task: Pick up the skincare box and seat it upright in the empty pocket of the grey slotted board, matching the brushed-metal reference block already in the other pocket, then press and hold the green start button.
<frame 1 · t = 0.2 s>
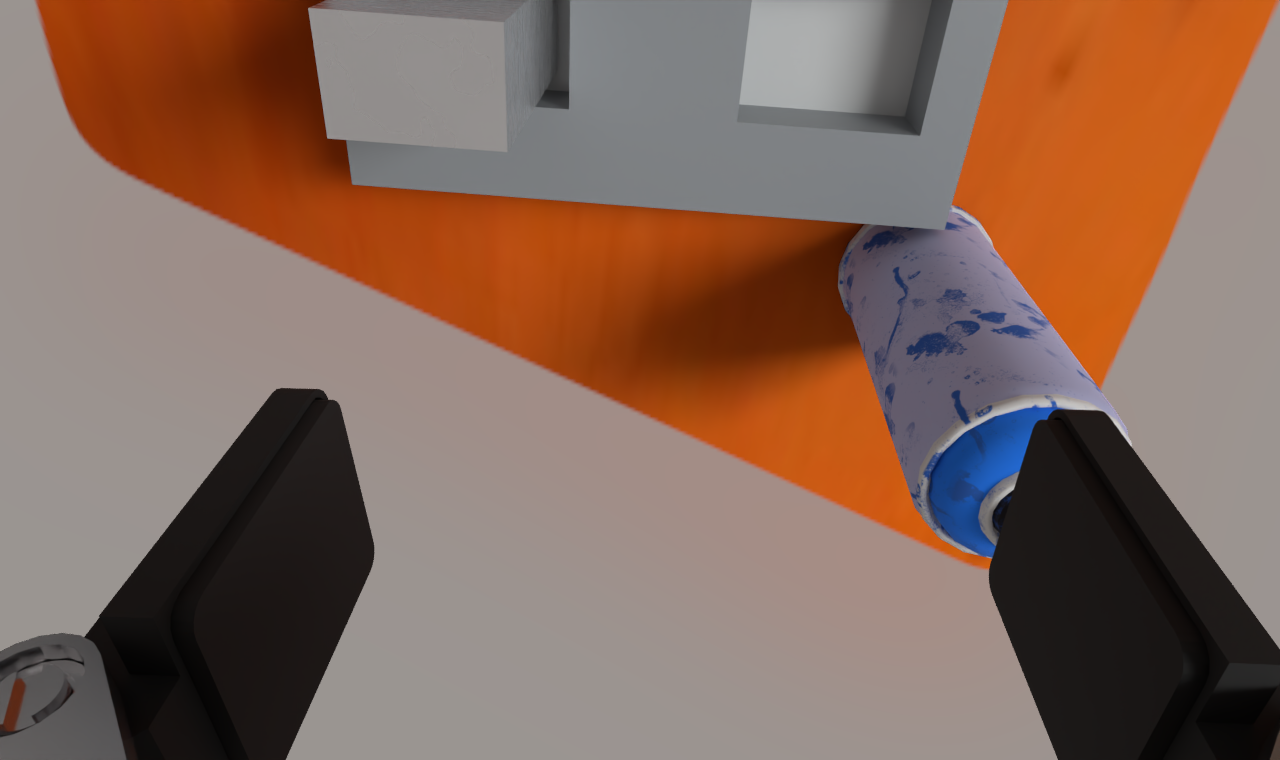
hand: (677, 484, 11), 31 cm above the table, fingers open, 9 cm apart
aerosol can: (913, 271, 43), on the table
grey slotted board: (660, 26, 37), on the table
reference block: (490, 17, 36), point 1 cm above the table, touching grey slotted board
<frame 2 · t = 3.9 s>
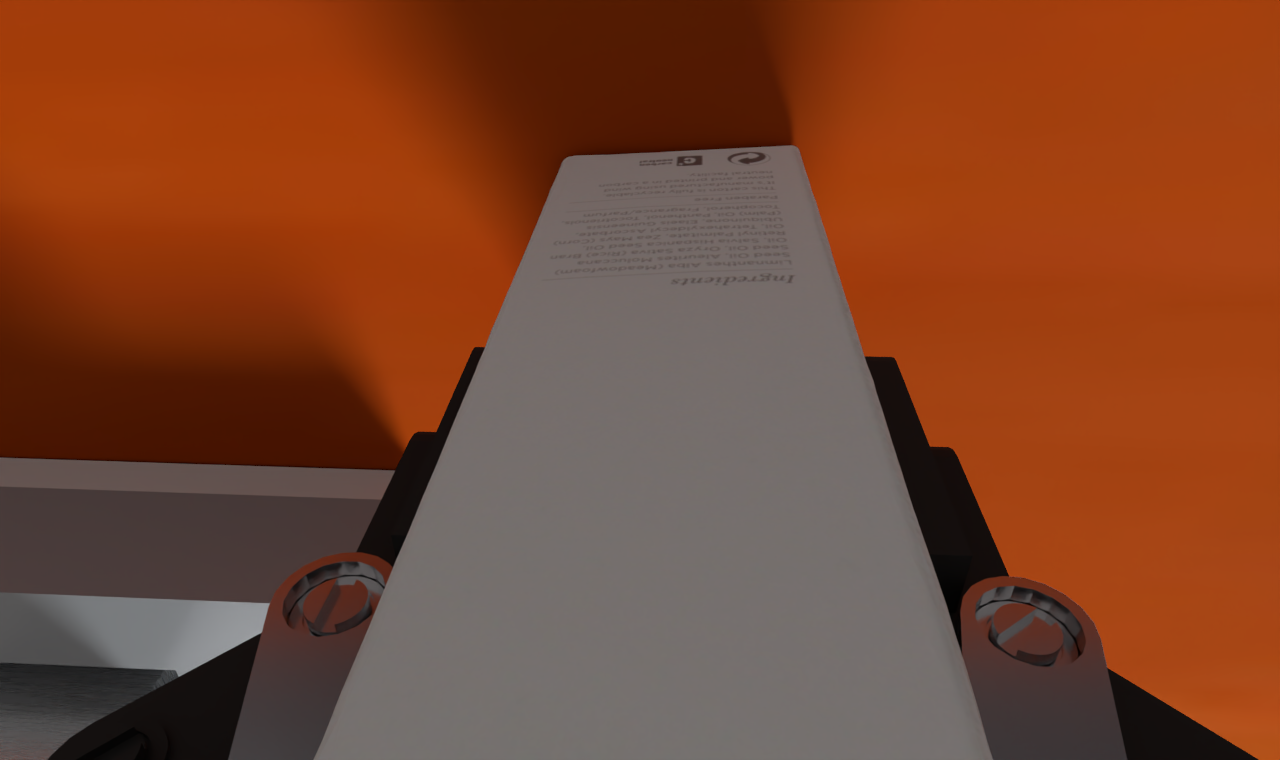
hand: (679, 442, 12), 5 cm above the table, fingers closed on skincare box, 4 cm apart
skincare box: (683, 295, 16), on the table, touching gripper
reference block: (174, 666, 21), point 1 cm above the table, touching grey slotted board
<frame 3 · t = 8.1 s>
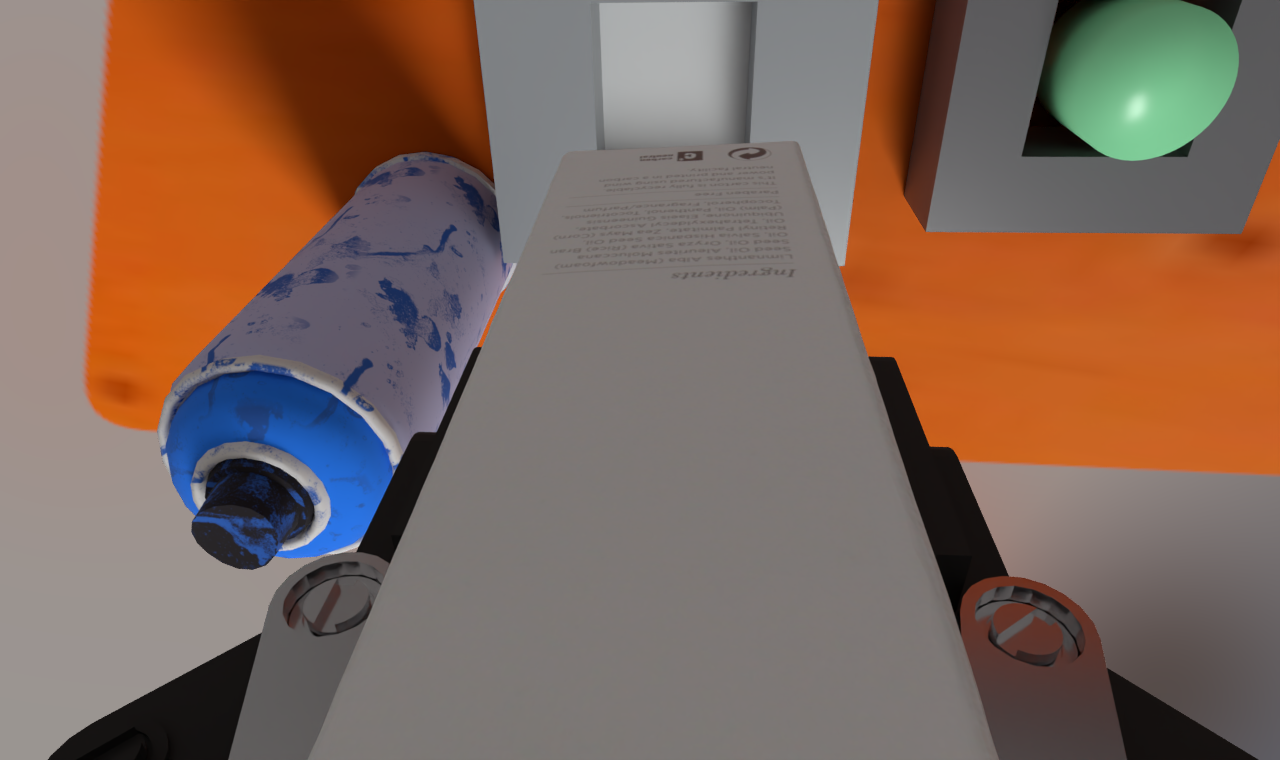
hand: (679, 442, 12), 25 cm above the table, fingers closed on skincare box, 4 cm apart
aerosol can: (437, 233, 38), on the table
button housing: (1083, 49, 32), on the table
start button: (1128, 72, 29), point 4 cm above the table, slide at 0.0 cm
skincare box: (683, 291, 16), point 21 cm above the table, touching gripper
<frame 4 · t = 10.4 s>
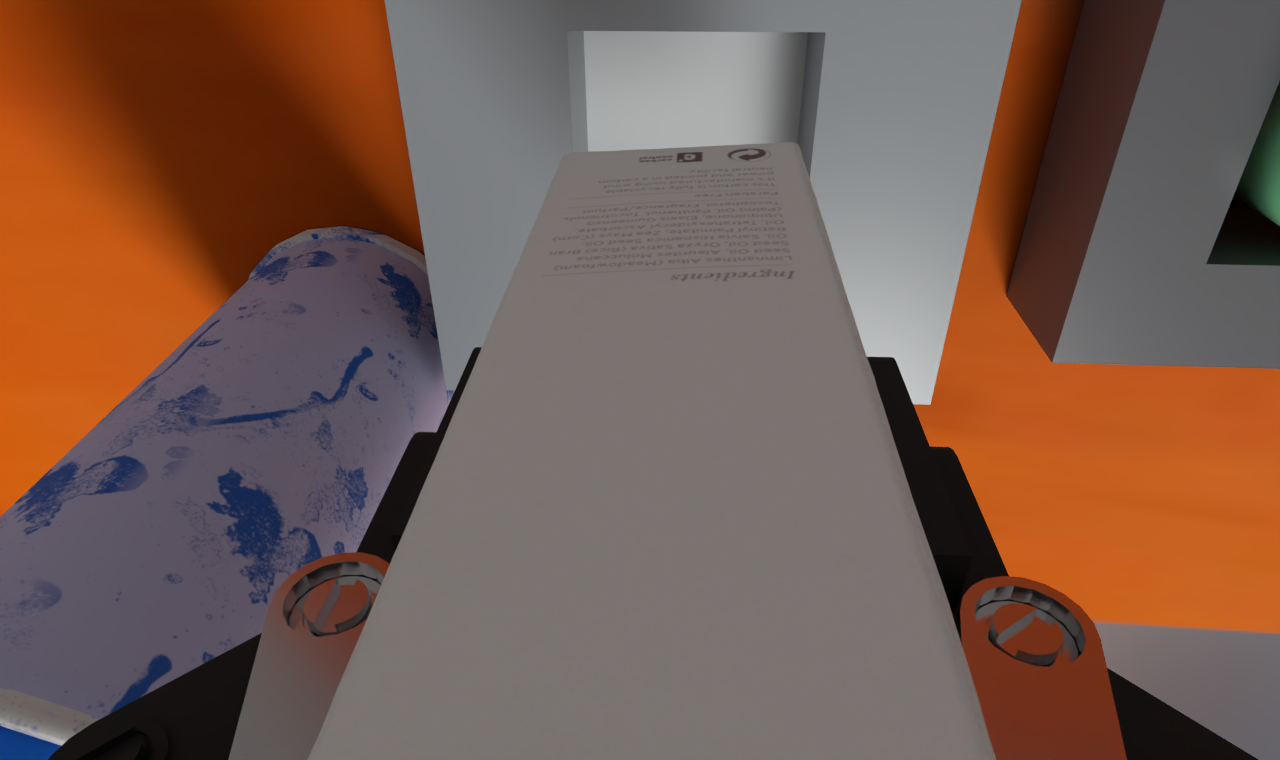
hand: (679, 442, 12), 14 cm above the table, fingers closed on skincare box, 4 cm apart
aerosol can: (365, 331, 28), on the table
skincare box: (683, 292, 16), point 9 cm above the table, touching gripper
when the fingers open (7 cm above the table, at t = 12.2 s): skincare box drops 1 cm, resting on grey slotted board.
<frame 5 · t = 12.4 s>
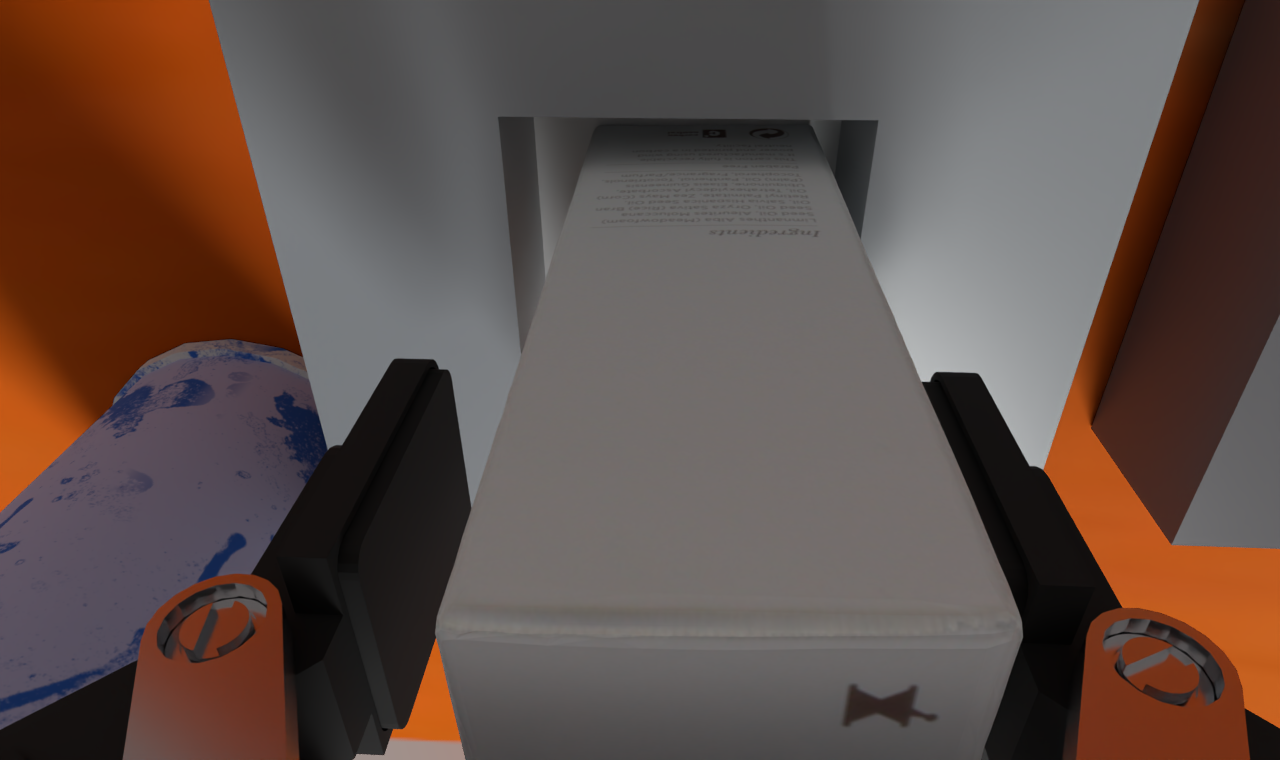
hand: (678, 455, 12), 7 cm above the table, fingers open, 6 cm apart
aerosol can: (270, 461, 22), on the table
skincare box: (697, 262, 17), point 1 cm above the table, touching grey slotted board
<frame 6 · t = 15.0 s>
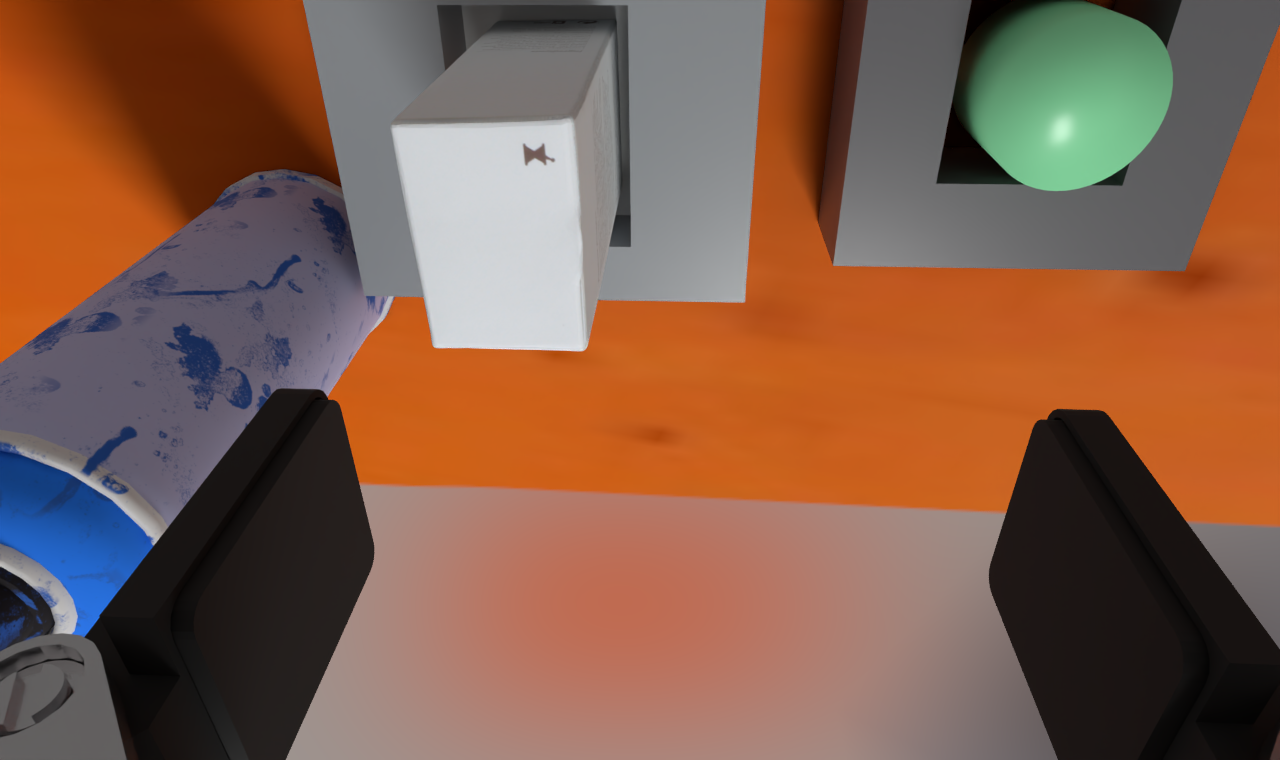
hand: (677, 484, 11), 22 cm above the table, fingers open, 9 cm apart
aerosol can: (306, 259, 34), on the table
button housing: (1010, 62, 29), on the table
start button: (1053, 90, 25), point 4 cm above the table, slide at 0.0 cm
skincare box: (562, 107, 30), point 1 cm above the table, touching grey slotted board
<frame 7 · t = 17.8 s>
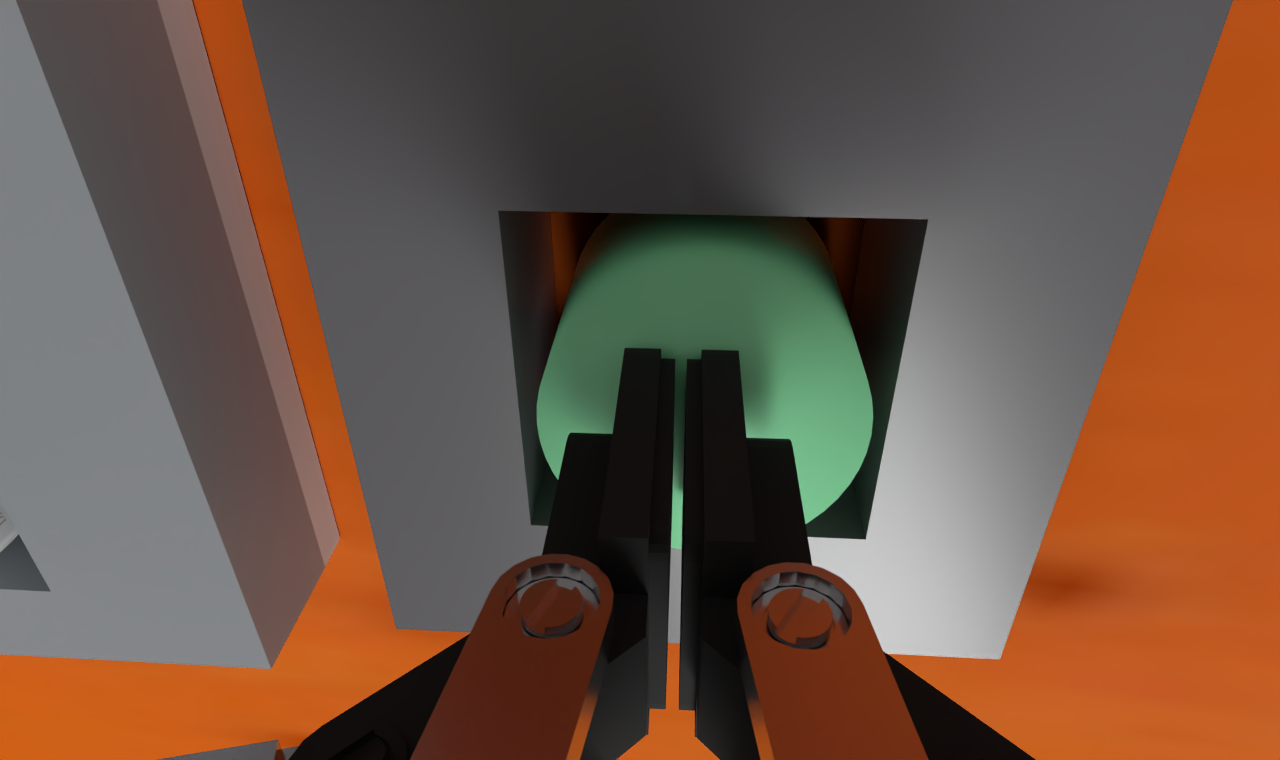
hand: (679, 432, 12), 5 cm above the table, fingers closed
button housing: (702, 282, 16), on the table
start button: (702, 359, 14), point 3 cm above the table, slide at 1.0 cm, touching gripper
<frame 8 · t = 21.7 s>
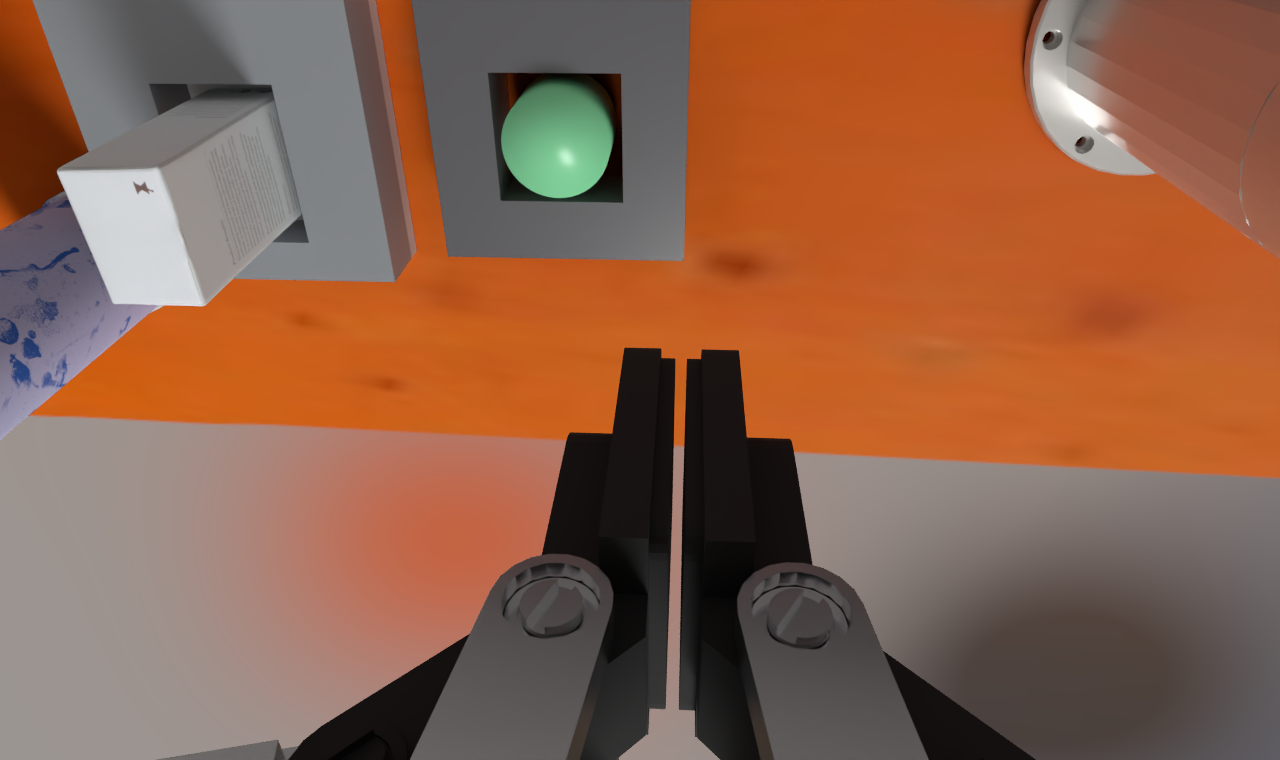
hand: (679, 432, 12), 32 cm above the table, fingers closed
aerosol can: (112, 251, 48), on the table
button housing: (569, 116, 42), on the table
start button: (561, 133, 39), point 3 cm above the table, slide at 1.2 cm
skincare box: (267, 146, 43), point 1 cm above the table, touching grey slotted board
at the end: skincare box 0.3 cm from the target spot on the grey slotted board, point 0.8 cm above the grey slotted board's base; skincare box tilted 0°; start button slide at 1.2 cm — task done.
